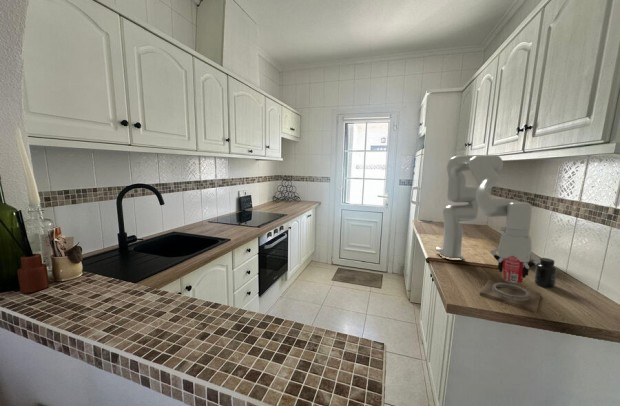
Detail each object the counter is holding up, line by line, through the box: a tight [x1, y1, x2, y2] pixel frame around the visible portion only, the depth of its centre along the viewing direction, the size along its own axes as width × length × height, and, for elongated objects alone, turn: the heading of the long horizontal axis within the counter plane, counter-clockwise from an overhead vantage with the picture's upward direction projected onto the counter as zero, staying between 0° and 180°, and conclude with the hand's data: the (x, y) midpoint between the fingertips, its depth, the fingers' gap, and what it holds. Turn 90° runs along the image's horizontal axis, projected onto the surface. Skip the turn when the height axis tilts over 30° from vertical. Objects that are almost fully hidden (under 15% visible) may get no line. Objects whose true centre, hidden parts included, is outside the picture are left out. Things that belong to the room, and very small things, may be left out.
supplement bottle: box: [534, 257, 557, 289], centre depth 112 cm, size 7×7×12 cm
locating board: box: [479, 279, 542, 313], centre depth 105 cm, size 18×16×3 cm
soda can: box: [501, 255, 525, 284], centre depth 103 cm, size 7×7×12 cm
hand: (512, 273), depth 104 cm, fingers closed on soda can, 7 cm apart
